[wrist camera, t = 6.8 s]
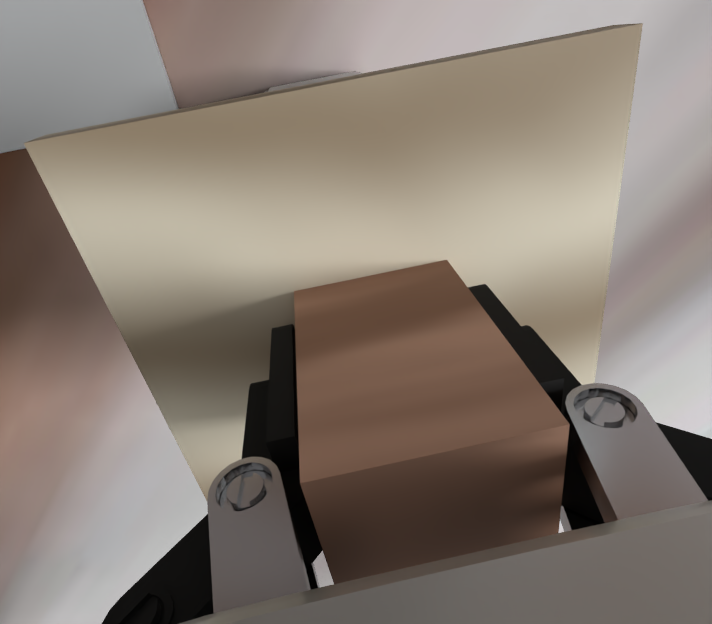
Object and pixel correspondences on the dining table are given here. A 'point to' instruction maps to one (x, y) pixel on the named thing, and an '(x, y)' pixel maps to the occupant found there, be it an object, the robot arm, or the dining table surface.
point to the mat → (76, 67)
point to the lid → (371, 277)
